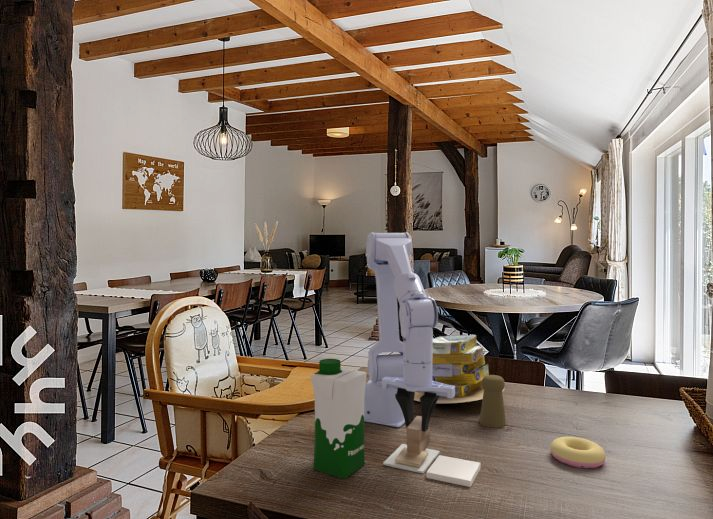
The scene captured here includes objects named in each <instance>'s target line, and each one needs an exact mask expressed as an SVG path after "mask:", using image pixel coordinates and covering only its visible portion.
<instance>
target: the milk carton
mask: <svg viewBox="0 0 713 519" xmlns="http://www.w3.org/2000/svg"><path fill="white" fill-rule="evenodd" d="M318 368H319V370H317V372H314V373H313V374H311V375H310V381H311V385H312V386H311V387H312V388H313V390H312V391H313V395H314V448H313V449H314V450H313V451H314V452H313V468H312V469H313V470H315V471H318V472H321V473H325V474H328V475H330V476H331V475H332V476H334V477H338V478H342V479H343V480H345V479H346V478H348V477H349V476H351V475H352V474H353V473H355V472H357V471H358V470H359V469H360V468H362V467H363V466H364V465H365V421H364V394H365V385H366V383H367V375H368V371H367V372H366V371H361V370H357V369H354V368H346V367H342V366H341V360H340V359H338V358H324V359H320V360H319V363H318Z"/></svg>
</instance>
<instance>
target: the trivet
mask: <svg viewBox="0 0 713 519" xmlns="http://www.w3.org/2000/svg"><path fill="white" fill-rule="evenodd" d="M404 447H405V448H407V443H401V444H400V445H399V446H398V448H396V449H395V450H394V451H393V452H392V453H391V454H390V456H389V457H387V458H386V459H385V460H384V461H383V463H382V465H383V466H387V467H391V468H396V469H399V470H405V471H409V472H414V473H418V474H424V473H425V472H427V470H428V469H429V468H430V465H432V464H433V463H434V461H435V460H436V459H437V458H438V456H439V455H440V453H441V452H440V450H436V449H431V448H428V447H427V448H426V449H425V451H426V452H428V456H427V458H426V459H425V460H424V462H423V463H422V465H421V466H420V467H416V466H411V465H406V464H401V463H397V462H395V458H396V457H397V456H398V454H399V453H400V452H401V451H402V449H403V448H404Z"/></svg>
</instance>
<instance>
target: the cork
mask: <svg viewBox="0 0 713 519" xmlns="http://www.w3.org/2000/svg"><path fill="white" fill-rule="evenodd" d="M505 386H506V383H505V380H504V378H503V376H500V375H495V374H489V375H486V376H484V377H483V379H482V387H483V389H484V393H483V399H481V400H482V401H481V408H480V414H479V420H478V421H479V424H480V425H481V426H484V427H488V428H494V429H495V428H497V429H498V428H503V427H505V426H507V423H506V422H507V420H506V413H505V412H506V411H505V404H504V396H503V392H504V391H503V389H504V390H505ZM502 391H503V392H502Z"/></svg>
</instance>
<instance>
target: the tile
mask: <svg viewBox="0 0 713 519" xmlns="http://www.w3.org/2000/svg"><path fill="white" fill-rule="evenodd" d="M481 463H482V462H478V461H472V460H467V459H463V458H457V457H451V456H447V455H442V454H441V455H440V454H438V455H437V457H436V458H435V459H434V460H433V462H432V463H431V464H430V465H431V466H429V467H428V468H427V470H426V471H425V472H426V479H429V480H436V481H441V482H444V483H450V484H455V485H458V486H459V485H460V486H464V487H468V488H471V487H472V485H473V484H474V482H475V479H476V478H477V476H478V473H479V472H480V470H481V467H482V465H481Z"/></svg>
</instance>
